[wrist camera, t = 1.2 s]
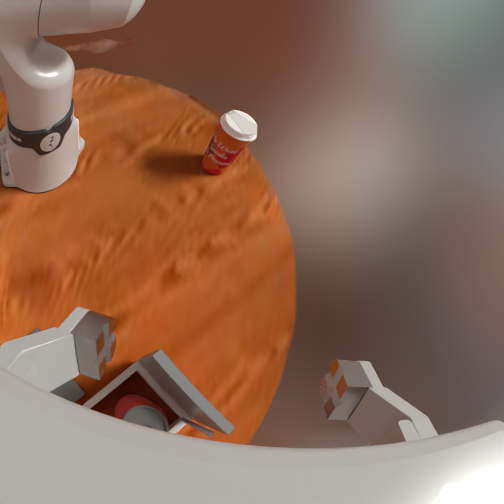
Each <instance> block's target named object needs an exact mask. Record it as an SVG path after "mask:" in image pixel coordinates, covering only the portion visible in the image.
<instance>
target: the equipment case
mask: <svg viewBox="0 0 504 504" xmlns="http://www.w3.org/2000/svg"><path fill="white" fill-rule="evenodd" d="M135 371H137V372H138V373H139V374H140V376H141V377H142V378H143V379H144V380H145V381H146V382H147V384H148V385H149V386H150V387H151V388H152V389H153V390H154V391H155V392H156V394H157V395H158V396H159V397H160V398H161V399H162V400H163V401H164V402H165V403H166V404H167V405H168V406H169V407H170V408H171V409H172V410H173V411H174V412H175V413H176V414H177V415H178V416H179V418H178V419H176V420H175V421H174V422H173V423H172V424H171V425H170V426H169V431H168V432H170V433H175V434H176V433H177V432H178V431H179V430H180V429H181V428H182V427H183V426H184V425H185V424H188V425H189V426H191V427H193V428H195V429H197V430H199V431H201V432H203V433H205V434H206V435H208V436H213V435H214V432H213V431H211V430H209V429H206V428H204V427H202V426H200V425H198V424H196V423H194V422H192V421H190V420H195V421H197V422H199V423H201V424H203V425H206V426H208V427H210V428H213V429H215V430H217V431H220V432H222V433H225V434H227V435H229V434H230V433H231V432H232V431H233V430H234V429H235V427H234V426H233V425H232V424H231V423H230V422H229V421H228V420H227V419H226V418H225V417H224V416H223V415H222V414H221V413H220V412H219V411H218V410H217V409H216V408H215V407H214V406H213V405H212V404H211V403H210V402H209V401H208V400H207V399H206V398H205V397H204V396H203V395H202V394H201V393H200V392H199V391H198V390H197V389H196V388H195V387H194V386H193V385H192V384H191V383H190V381H189V380H188V379H187V378H186V377H185V376H184V375H183V374H182V373H181V372H180V370H179V369H178V368H177V367H176V366H175V365H174V364H173V362H172V361H171V360H170V359H169V358H168V357H167V355H166V354H165V353H164V352H163V351H162V350H161V349H159V350H157V351H154V352H152V353H150V354H147V355H145V356H143V357H142V358H140V359H139V360H138V361H136V362H135V363H133V364H132V365H131V366H130V367H129V368H127V369H126V370H125V371H124V372H122V373H121V374H120V375H119V376H118V377H116V378H115V379H114V380H113V381H111V382H110V383H109V384H108V385H107V386H105V387H104V388H103V389H102V390H100V391H99V392H98V393H97V394H95V395H94V396H93V397H92V398H90V399H89V400H88V401H87V402H86V403H84V404H83V405H82V406H84V407H86V408H89V409H90V408H92V407H93V406H94V405H95V404H96V403H98V402H99V401H100V400H101V399H103V398H104V397H105V396H106V395H107V394H109V393H110V392H111V391H112V390H114V389H115V388H116V387H117V386H118V385H120V384H121V383H122V382H123V381H125V380H126V379H127V378H128V377H129V376H131V375H132V374H133V373H134V372H135Z"/></svg>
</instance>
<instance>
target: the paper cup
mask: <svg viewBox="0 0 504 504" xmlns="http://www.w3.org/2000/svg"><path fill="white" fill-rule="evenodd" d="M256 136H257V124H256V122H255V121H254V120H253V119H252V118H251V117H250V116H249V115H248V114H246V113H244V112H241V111H238V110H232V111H230V112H228V113H226V114H224V115H223V116H222V117H221V119H220V124H219V126H218V128H217V130H216V132H215V134H214V136H213V138H212V140H211V142H210V144H209V146H208V148H207V150H206V152H205V155H204V157H203V159H202V166H203V168H204V169H205V170H206V171H207V172H208V173H210V174H212V175H220V174H222V173H223V172H224V171H225V170H226V169H227V168H228V167H229V166H230V164H231V163H232V162H233V161H234V160H235V158H236V157H237V156H238V155H239V154H240V153H241V151H242V150H243V149H244V148H245V147H246V145H247V144H248V143H249V142H250V141H253V140H254V139H256Z"/></svg>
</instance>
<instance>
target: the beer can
mask: <svg viewBox="0 0 504 504" xmlns="http://www.w3.org/2000/svg"><path fill="white" fill-rule="evenodd" d="M114 417H115V418H118V419H121V420H125V421H128V422H131V423H135V424H138V425H142V426H146V427H149V428H153V429H157V430H161V431H166V432H168V431H169V423H168V418H167V416H166V414H165V412H164V411H163V410H162V409H161V408H160V407H159V406H158V405H156V404H155V403H153V402H151V401H150V400H148V399H147V398H145V397H143V396H141V395H137V394H128V395H125V396H123V397H122V398H120V399H119V400H118V401H117V403H116V405H115V408H114Z"/></svg>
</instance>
